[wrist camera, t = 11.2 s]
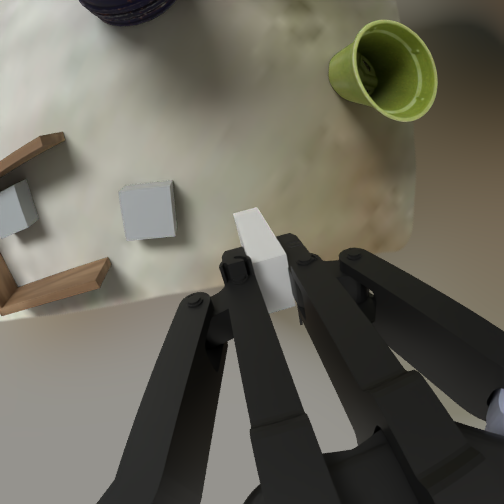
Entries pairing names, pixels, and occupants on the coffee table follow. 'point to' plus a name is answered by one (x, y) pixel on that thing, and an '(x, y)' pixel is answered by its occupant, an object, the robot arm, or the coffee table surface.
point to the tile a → (16, 209)
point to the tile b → (148, 210)
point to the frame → (56, 286)
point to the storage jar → (127, 10)
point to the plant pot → (386, 71)
